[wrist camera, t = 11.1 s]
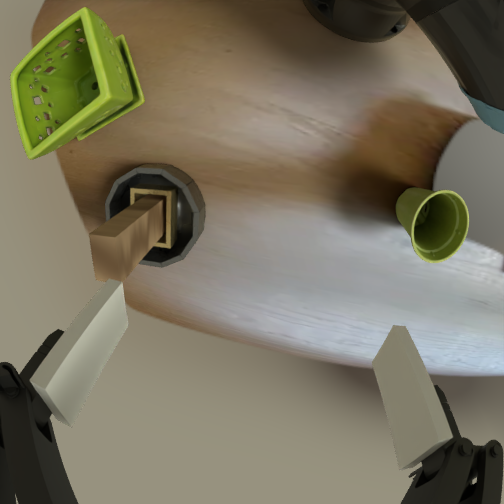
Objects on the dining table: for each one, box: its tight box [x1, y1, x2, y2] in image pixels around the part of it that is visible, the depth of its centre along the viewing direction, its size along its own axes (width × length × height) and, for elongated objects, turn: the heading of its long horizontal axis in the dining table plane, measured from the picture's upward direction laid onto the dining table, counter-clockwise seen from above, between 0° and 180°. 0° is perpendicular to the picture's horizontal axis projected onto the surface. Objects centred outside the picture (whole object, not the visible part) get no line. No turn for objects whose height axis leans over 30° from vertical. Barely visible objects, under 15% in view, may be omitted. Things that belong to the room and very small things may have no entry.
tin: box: [105, 164, 205, 268], centre depth 36 cm, size 14×14×4 cm
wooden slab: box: [89, 194, 167, 283], centre depth 30 cm, size 5×3×15 cm, turn 173°
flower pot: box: [10, 7, 145, 160], centre depth 24 cm, size 14×14×13 cm
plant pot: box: [396, 187, 469, 263], centre depth 31 cm, size 9×9×9 cm
